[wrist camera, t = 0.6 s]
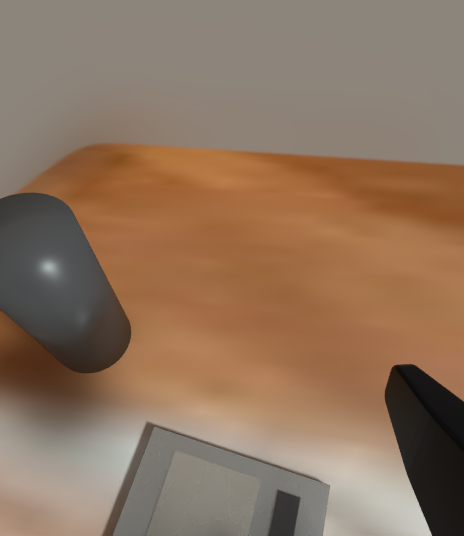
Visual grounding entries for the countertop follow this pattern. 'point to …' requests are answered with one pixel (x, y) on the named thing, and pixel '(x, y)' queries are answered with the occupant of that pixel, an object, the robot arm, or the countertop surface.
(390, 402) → the robot arm
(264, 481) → the label plate
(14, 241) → the post
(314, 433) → the countertop surface
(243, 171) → the countertop surface
